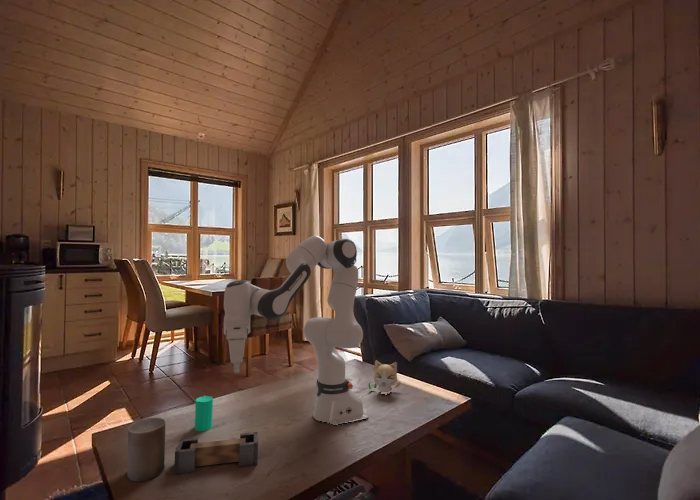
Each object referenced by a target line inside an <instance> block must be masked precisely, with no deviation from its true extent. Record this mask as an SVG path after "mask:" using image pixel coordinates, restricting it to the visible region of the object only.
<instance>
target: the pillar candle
mask: <svg viewBox="0 0 700 500" xmlns="http://www.w3.org/2000/svg"><path fill="white" fill-rule="evenodd" d="M127 431H128V433H127V473H126V476H127V478H128V479H129V481H133V482H143V481H149V480H150V479H154V478H155V477H157V476H159V475H160V474H161V473H163V472H164V470H165V469H166V468H165V467H166V466H165V459H166V458H165V457H166V456H165V455H166V450H165V449H166V447H165V446H166V420H164V419H163V418H161V417H149V418H144V419H141V420H140V419H139V420H138V421H135V422H133V423H132V424H130V425H129V426H128V428H127Z"/></svg>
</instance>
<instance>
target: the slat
mask: <svg viewBox="0 0 700 500" xmlns="http://www.w3.org/2000/svg"><path fill="white" fill-rule="evenodd" d="M245 442H246V438H241V439H240V438H234V439H222V440H221V439H220V440H213V441H205V442H204V441H203V442H198V443H192V444H191V446H190V449H193V448H196V450H195V468H197V467H202V466H203V467H205V466H211V465H219V464H220V465H221V464H226V463H227V464H229V463H236V462H238V463H239V453H240V443H245Z"/></svg>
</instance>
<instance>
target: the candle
mask: <svg viewBox="0 0 700 500" xmlns="http://www.w3.org/2000/svg"><path fill="white" fill-rule="evenodd" d="M194 406H195V408H194V410H195V412H194V430H195V431H196V432H206V431H208V430H210V429H212V428H213V412H214V408H213V407H214V398H213V396H208V395H205V394H204V395H203V396H200V397H197V398H196V399H195V405H194Z"/></svg>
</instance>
